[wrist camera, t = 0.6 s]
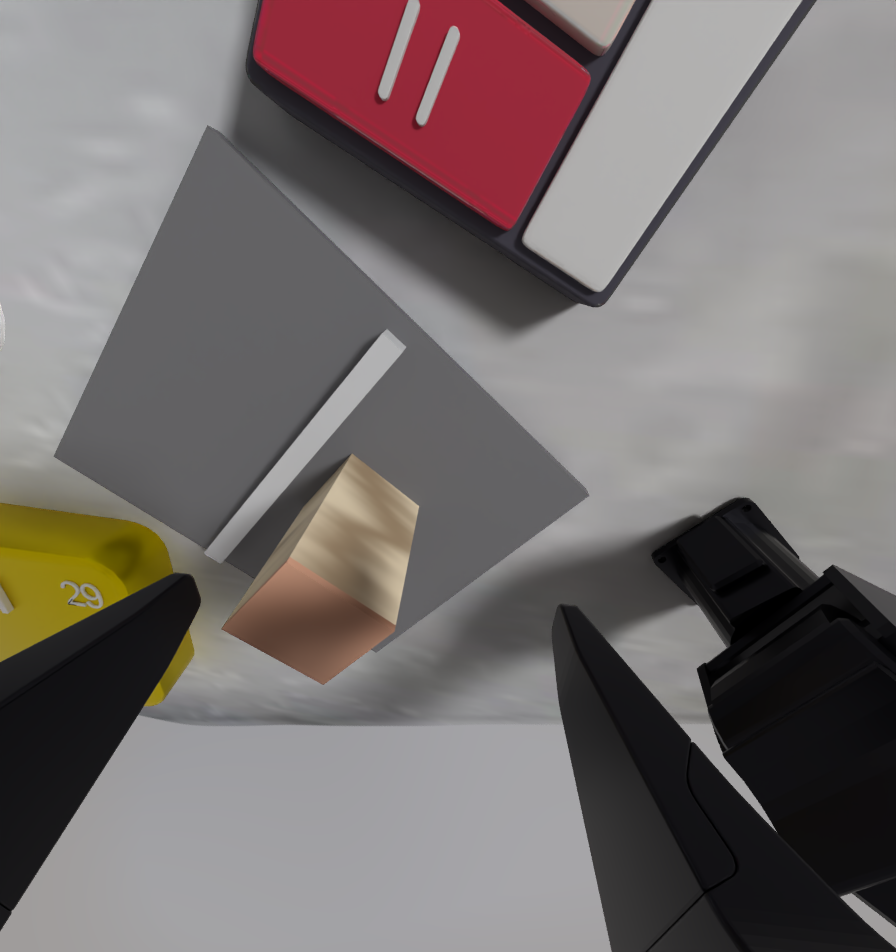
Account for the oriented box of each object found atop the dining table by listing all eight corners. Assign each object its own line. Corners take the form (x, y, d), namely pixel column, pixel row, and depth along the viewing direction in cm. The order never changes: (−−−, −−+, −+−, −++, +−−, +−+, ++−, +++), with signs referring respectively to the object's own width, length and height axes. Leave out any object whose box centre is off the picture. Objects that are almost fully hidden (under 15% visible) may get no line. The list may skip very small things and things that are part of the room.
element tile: (23, 638, 33) (-41, 693, 29) (-64, 489, 26) (-167, 533, 22) (201, 661, 33) (163, 718, 29) (165, 521, 26) (107, 570, 22)
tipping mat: (585, 488, 23) (595, 506, 21) (378, 643, 31) (372, 666, 29) (219, 131, 16) (187, 114, 14) (66, 450, 23) (33, 465, 22)
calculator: (356, -627, 8) (891, -92, 10) (400, -324, 11) (778, 11, 14) (226, 65, 12) (605, 314, 15) (287, 114, 16) (581, 306, 19)
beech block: (419, 506, 23) (394, 631, 15) (368, 552, 25) (323, 684, 17) (352, 453, 22) (286, 562, 14) (303, 506, 24) (221, 628, 16)
